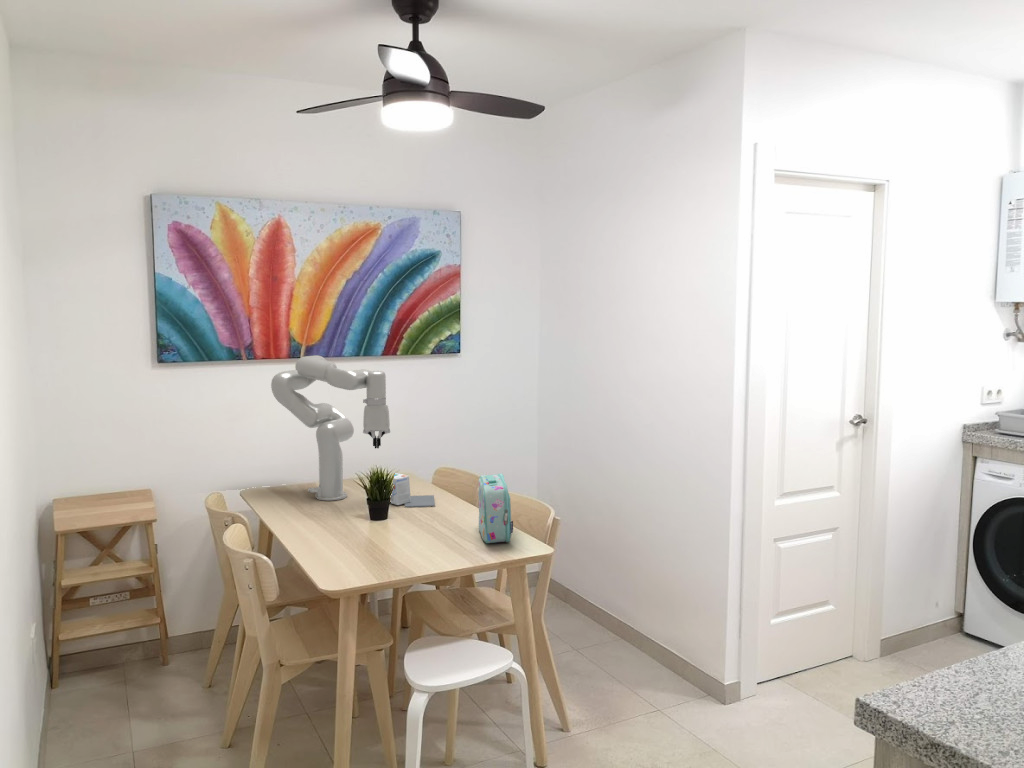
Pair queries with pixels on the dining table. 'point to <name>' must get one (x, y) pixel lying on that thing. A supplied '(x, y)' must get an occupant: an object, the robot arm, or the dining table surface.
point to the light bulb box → (400, 489)
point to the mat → (421, 501)
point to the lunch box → (494, 509)
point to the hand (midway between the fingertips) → (376, 447)
